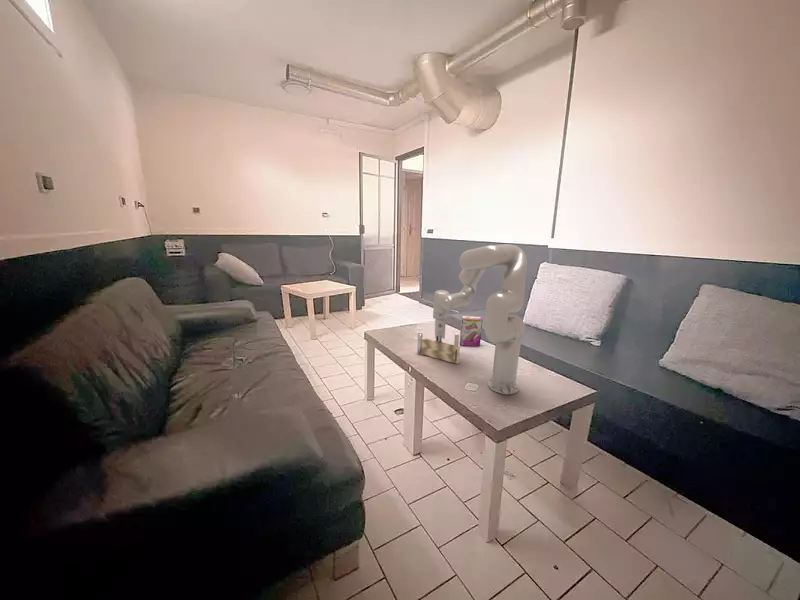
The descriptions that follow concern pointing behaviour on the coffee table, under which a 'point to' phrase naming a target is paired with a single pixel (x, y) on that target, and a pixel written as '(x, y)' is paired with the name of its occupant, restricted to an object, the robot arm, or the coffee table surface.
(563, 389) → the coffee table surface
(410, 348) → the coffee table surface
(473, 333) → the candy bar box
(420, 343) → the hinge post
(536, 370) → the coffee table surface
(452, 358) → the gate
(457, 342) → the post
